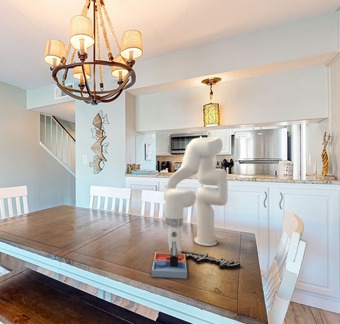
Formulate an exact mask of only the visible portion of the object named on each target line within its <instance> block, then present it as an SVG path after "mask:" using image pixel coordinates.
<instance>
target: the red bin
mask: <svg viewBox="0 0 340 324" xmlns="http://www.w3.org/2000/svg"><path fill="white" fill-rule="evenodd" d="M170 254H171V252H154V256H153V257H154V258H153V261H158V257H161V256H163V257H166V256H170ZM177 254H178V256H179V257H182V262H186V263H187V260H186V258H185V254H181V252H177ZM163 261H166V260H163Z"/></svg>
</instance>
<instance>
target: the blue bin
mask: <svg viewBox="0 0 340 324" xmlns="http://www.w3.org/2000/svg"><path fill="white" fill-rule="evenodd" d="M156 262H157V261H154V260H153V262H152V267H151V277H152V278H167V279H185V280H187V279H188V268H187V261H186V262H183V267H182V268H174V267H165V268H159V267H157V266H156Z"/></svg>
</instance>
